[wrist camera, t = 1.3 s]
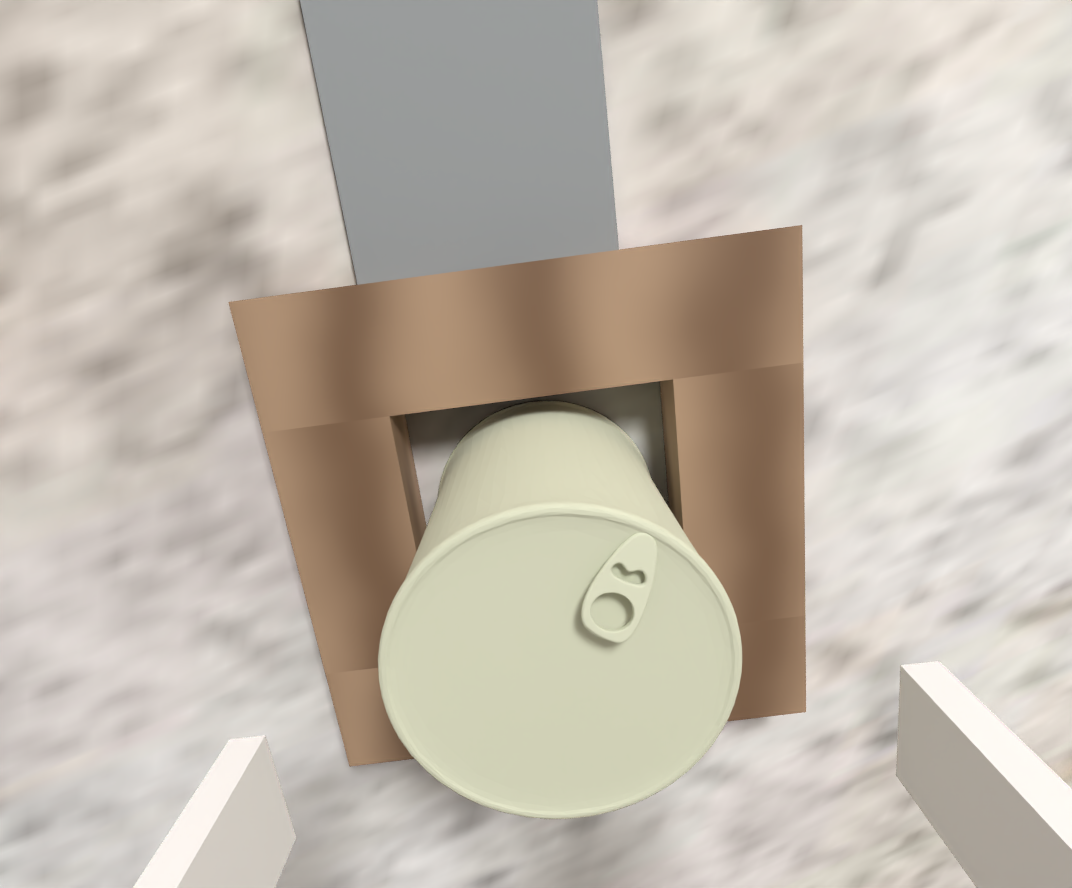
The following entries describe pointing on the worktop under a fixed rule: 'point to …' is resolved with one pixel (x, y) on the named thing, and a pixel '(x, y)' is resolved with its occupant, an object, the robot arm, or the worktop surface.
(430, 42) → the mat
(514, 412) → the can
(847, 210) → the worktop surface
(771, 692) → the housing
